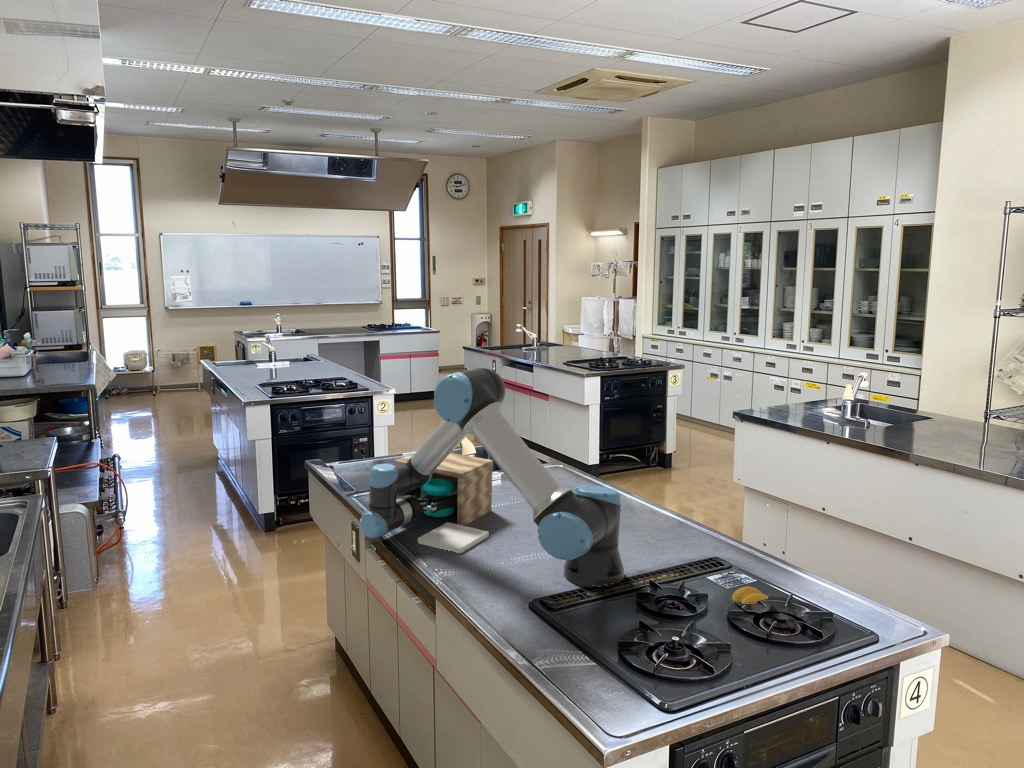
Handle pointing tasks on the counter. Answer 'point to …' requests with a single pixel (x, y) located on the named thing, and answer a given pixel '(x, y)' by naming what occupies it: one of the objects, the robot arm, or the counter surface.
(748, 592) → the bread roll
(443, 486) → the donuts
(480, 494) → the tunnel
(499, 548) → the counter surface
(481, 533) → the platter
